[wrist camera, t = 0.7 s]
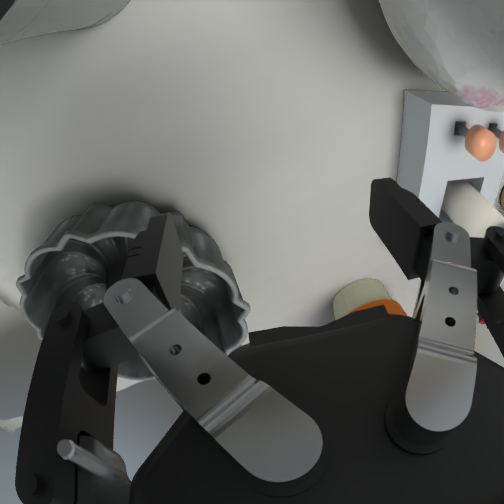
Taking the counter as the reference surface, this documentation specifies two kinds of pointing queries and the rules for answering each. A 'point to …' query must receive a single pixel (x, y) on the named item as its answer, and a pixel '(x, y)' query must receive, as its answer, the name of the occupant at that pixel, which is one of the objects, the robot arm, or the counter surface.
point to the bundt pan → (111, 269)
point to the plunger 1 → (479, 141)
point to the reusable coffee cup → (364, 298)
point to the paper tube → (502, 199)
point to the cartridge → (469, 208)
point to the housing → (444, 148)
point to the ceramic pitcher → (454, 45)
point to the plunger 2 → (499, 137)
